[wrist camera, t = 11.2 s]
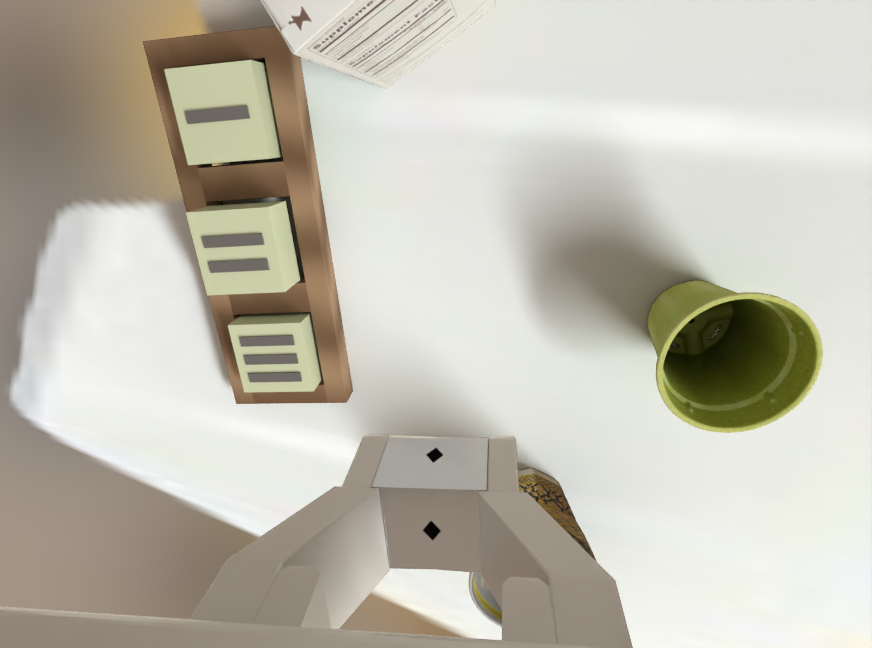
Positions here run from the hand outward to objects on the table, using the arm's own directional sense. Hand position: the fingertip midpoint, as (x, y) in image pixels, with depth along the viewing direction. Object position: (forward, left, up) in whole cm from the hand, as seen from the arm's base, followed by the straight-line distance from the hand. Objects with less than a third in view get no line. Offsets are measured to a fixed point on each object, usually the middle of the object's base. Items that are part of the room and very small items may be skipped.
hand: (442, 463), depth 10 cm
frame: (+1, -17, -29) cm, 34 cm away
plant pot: (+9, +15, -30) cm, 35 cm away
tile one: (-8, -17, -29) cm, 34 cm away
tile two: (+1, -17, -27) cm, 32 cm away
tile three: (+10, -17, -29) cm, 35 cm away
